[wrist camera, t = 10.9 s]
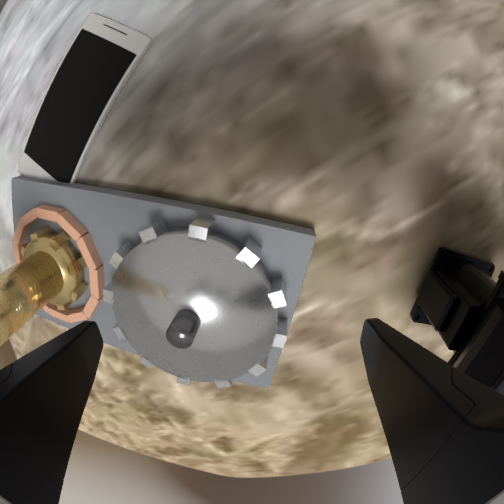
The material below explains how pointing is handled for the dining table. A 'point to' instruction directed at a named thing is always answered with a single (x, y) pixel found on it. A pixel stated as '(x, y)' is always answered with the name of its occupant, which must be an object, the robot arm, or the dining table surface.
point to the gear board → (127, 229)
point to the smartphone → (80, 98)
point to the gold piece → (40, 280)
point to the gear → (197, 302)
